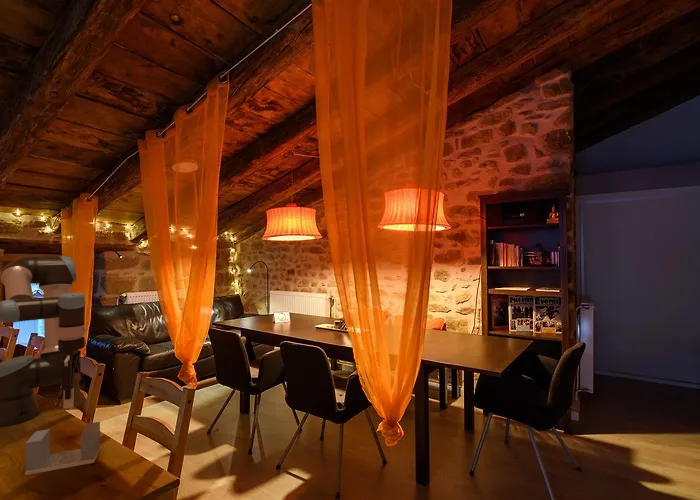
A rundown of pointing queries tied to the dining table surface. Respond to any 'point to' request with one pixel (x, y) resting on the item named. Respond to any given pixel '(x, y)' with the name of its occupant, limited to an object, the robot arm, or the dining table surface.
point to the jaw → (37, 449)
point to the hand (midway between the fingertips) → (71, 403)
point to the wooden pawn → (75, 391)
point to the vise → (74, 452)
